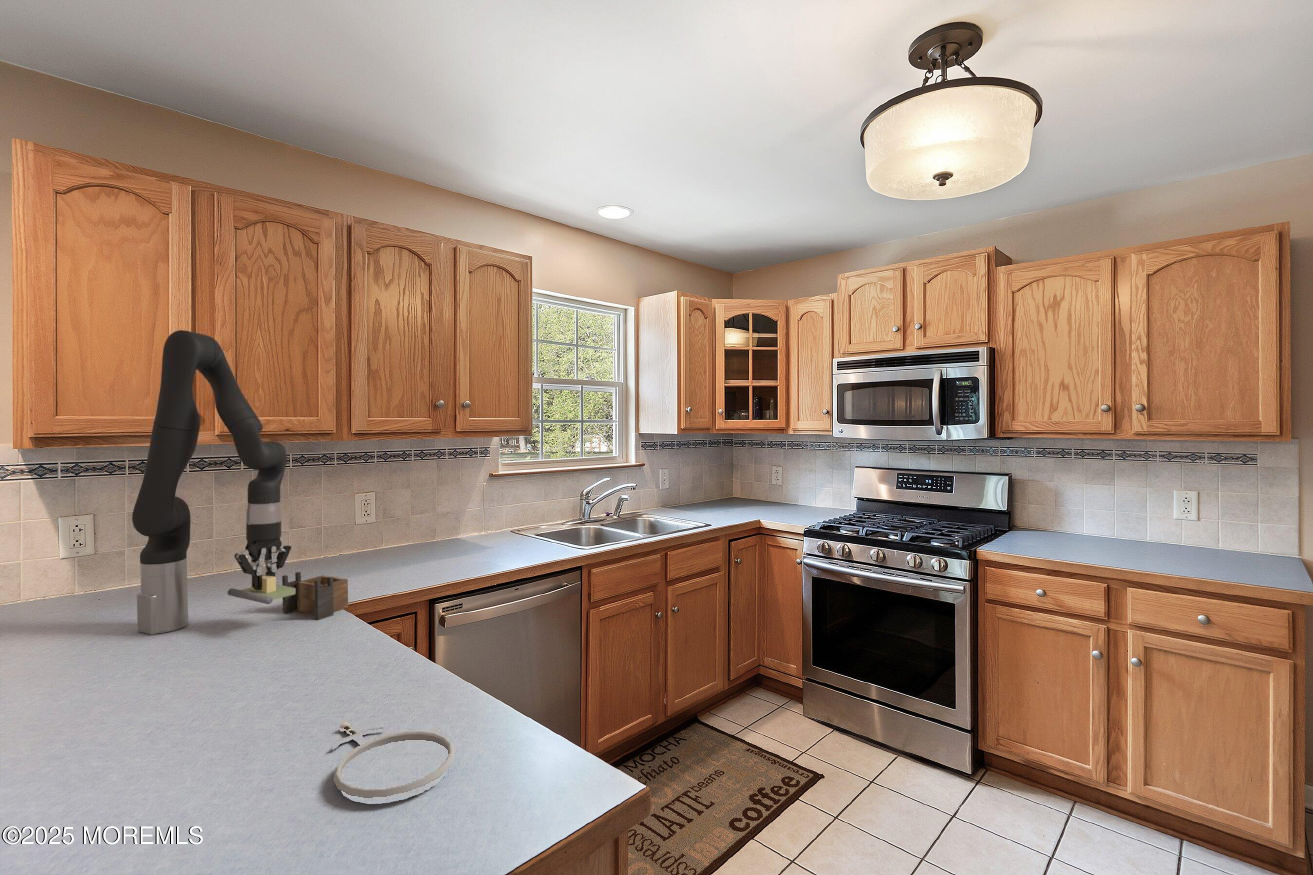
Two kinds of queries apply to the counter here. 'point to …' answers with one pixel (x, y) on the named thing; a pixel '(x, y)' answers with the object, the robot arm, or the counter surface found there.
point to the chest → (316, 595)
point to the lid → (264, 591)
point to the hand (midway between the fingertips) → (263, 587)
